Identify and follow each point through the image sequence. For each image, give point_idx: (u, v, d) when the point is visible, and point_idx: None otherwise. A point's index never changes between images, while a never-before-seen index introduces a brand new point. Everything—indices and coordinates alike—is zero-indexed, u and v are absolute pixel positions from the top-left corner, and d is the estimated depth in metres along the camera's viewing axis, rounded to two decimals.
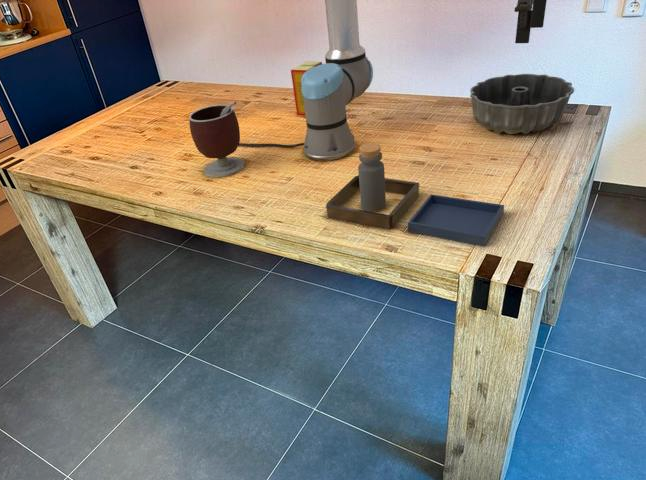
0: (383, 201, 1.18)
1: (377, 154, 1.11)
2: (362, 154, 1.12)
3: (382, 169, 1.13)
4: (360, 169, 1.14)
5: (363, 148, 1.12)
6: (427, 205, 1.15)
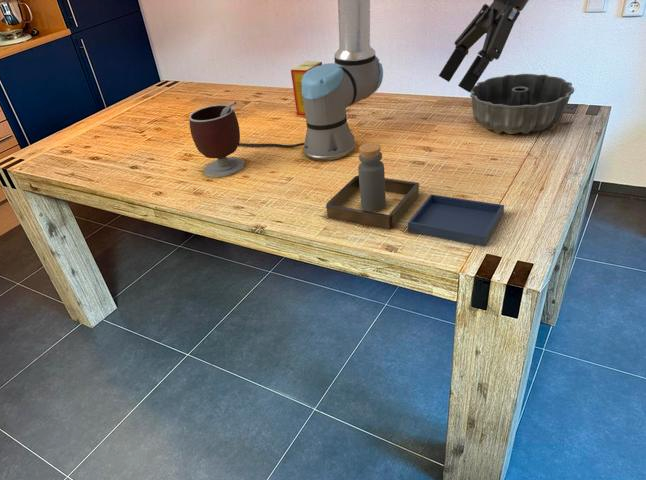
0: (383, 201, 1.18)
1: (377, 154, 1.11)
2: (362, 154, 1.12)
3: (382, 169, 1.13)
4: (360, 169, 1.14)
5: (362, 148, 1.12)
6: (427, 205, 1.15)
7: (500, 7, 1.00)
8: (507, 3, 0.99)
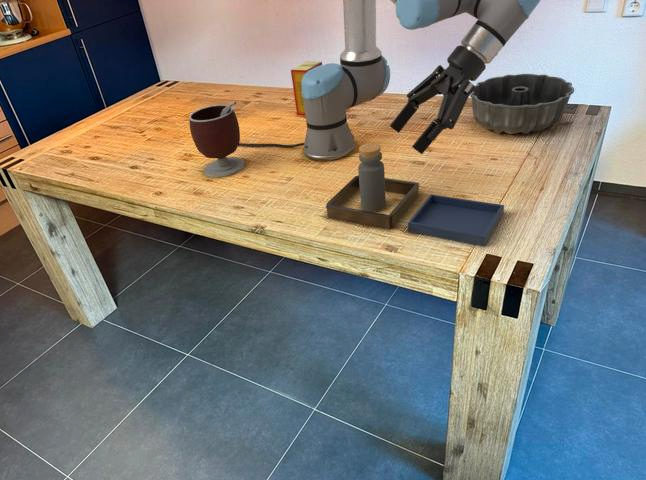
0: (383, 201, 1.18)
1: (377, 154, 1.11)
2: (362, 154, 1.12)
3: (382, 169, 1.13)
4: (360, 169, 1.14)
5: (362, 148, 1.12)
6: (427, 205, 1.15)
7: (456, 76, 1.04)
8: (464, 74, 1.03)
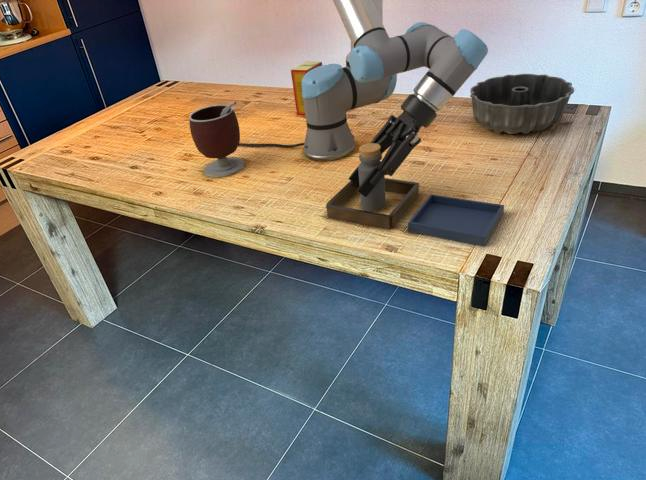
0: (383, 201, 1.18)
1: (377, 154, 1.11)
2: (362, 154, 1.12)
3: None
4: (360, 169, 1.14)
5: (362, 148, 1.12)
6: (427, 205, 1.15)
7: (409, 124, 1.08)
8: (415, 123, 1.07)
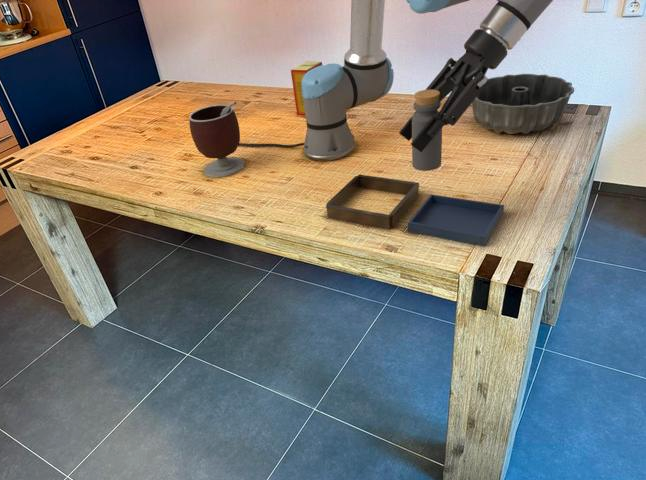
0: (439, 158, 1.03)
1: (436, 101, 0.97)
2: (418, 101, 0.97)
3: None
4: (415, 119, 0.99)
5: (419, 94, 0.97)
6: (427, 205, 1.15)
7: (474, 64, 0.93)
8: (483, 62, 0.92)
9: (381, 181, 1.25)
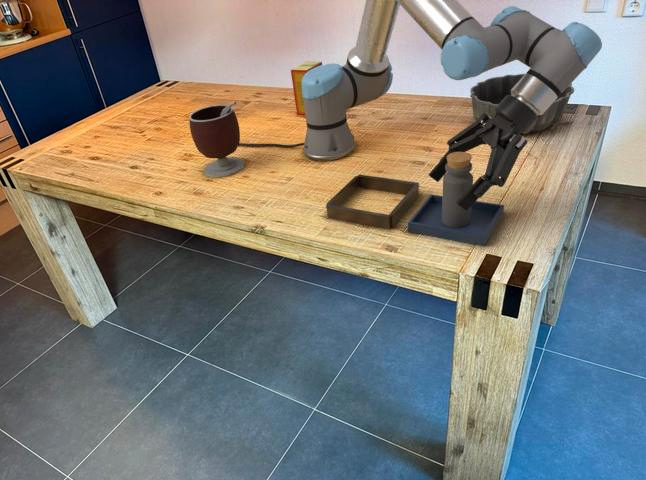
0: (469, 216, 1.06)
1: (468, 164, 1.00)
2: (450, 164, 1.00)
3: (471, 181, 1.02)
4: (446, 181, 1.03)
5: (451, 157, 1.01)
6: (427, 205, 1.15)
7: (506, 129, 0.96)
8: (514, 127, 0.95)
9: (381, 181, 1.25)
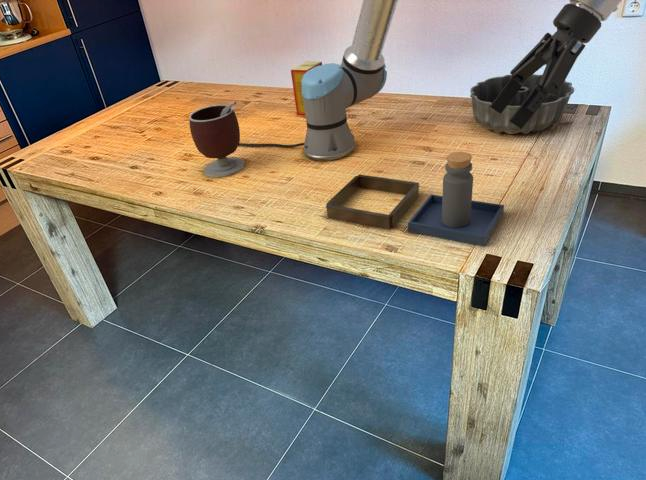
0: (469, 216, 1.06)
1: (468, 164, 1.00)
2: (450, 164, 1.00)
3: (471, 181, 1.02)
4: (446, 181, 1.03)
5: (451, 157, 1.01)
6: (427, 205, 1.15)
7: (563, 38, 0.91)
8: (571, 34, 0.90)
9: (381, 181, 1.25)
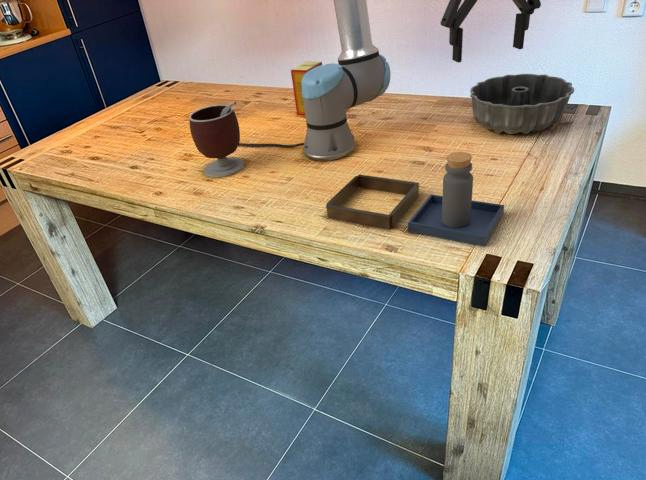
0: (469, 216, 1.06)
1: (468, 164, 1.00)
2: (450, 164, 1.00)
3: (471, 181, 1.02)
4: (446, 181, 1.03)
5: (451, 157, 1.01)
6: (427, 205, 1.15)
7: None
8: None
9: (381, 181, 1.25)
